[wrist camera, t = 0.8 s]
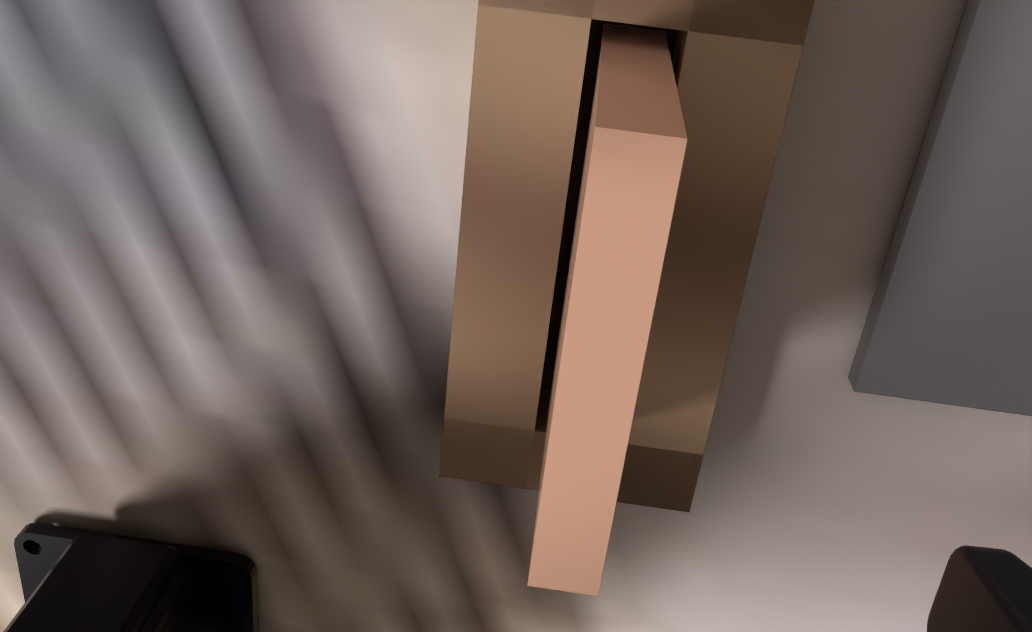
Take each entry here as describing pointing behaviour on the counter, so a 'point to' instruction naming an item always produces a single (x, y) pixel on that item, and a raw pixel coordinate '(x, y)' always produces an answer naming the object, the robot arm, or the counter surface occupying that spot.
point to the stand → (540, 214)
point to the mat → (964, 234)
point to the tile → (607, 303)
